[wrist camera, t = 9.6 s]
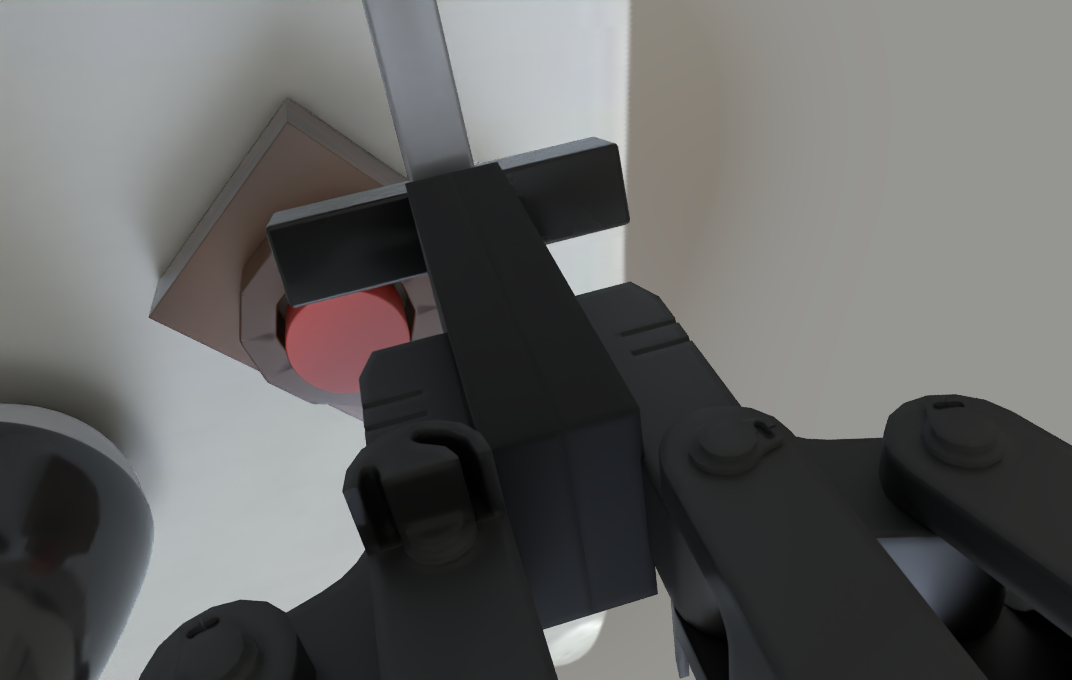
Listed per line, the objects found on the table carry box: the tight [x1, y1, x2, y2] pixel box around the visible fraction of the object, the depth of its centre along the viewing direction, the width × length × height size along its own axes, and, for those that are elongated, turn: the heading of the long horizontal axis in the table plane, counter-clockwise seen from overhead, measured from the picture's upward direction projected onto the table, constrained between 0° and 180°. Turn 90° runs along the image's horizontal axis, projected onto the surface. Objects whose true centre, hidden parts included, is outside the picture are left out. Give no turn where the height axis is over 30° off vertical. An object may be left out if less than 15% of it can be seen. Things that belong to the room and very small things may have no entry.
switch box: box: [149, 98, 443, 422], centre depth 30 cm, size 10×8×4 cm
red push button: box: [285, 284, 410, 394], centre depth 28 cm, size 4×4×2 cm
